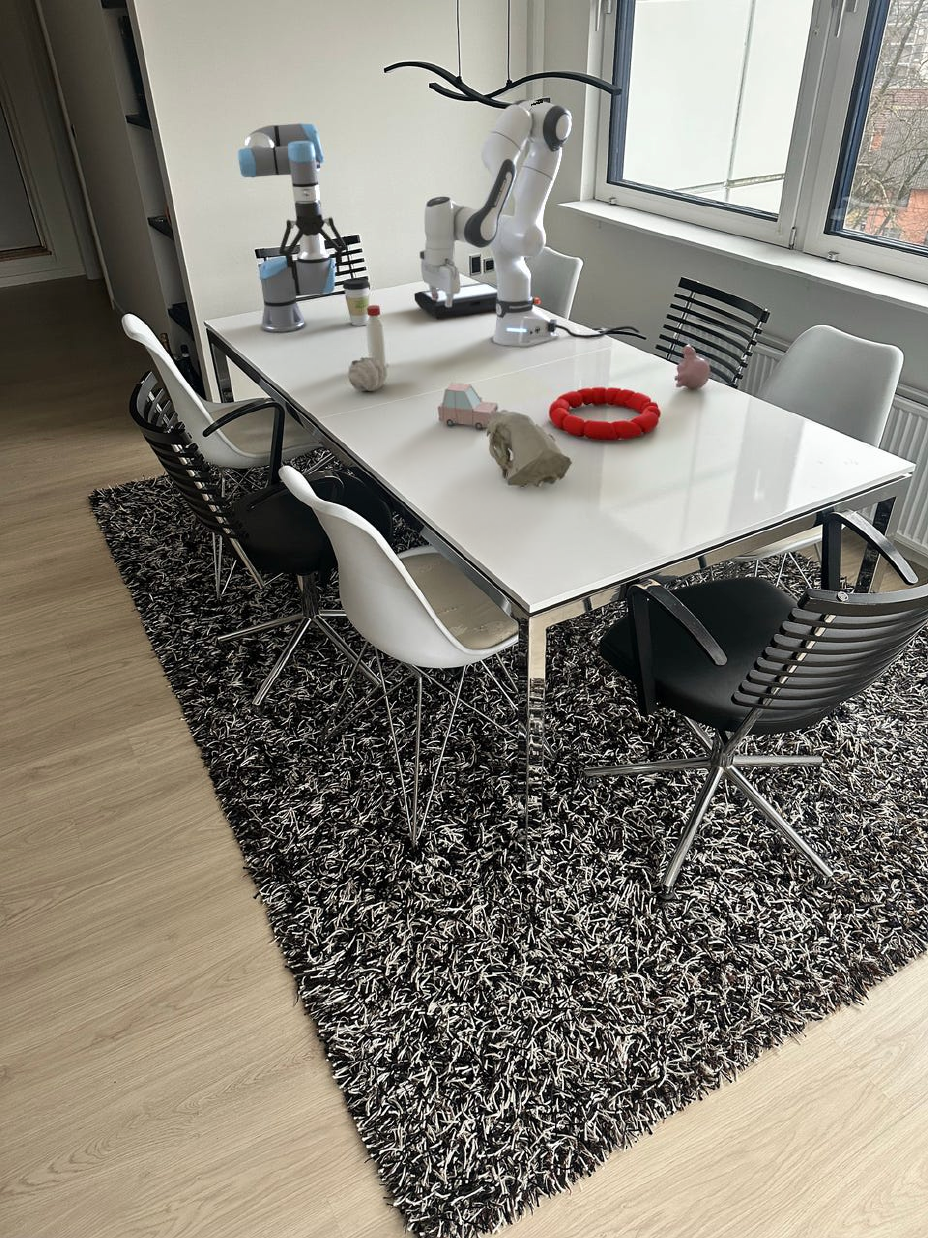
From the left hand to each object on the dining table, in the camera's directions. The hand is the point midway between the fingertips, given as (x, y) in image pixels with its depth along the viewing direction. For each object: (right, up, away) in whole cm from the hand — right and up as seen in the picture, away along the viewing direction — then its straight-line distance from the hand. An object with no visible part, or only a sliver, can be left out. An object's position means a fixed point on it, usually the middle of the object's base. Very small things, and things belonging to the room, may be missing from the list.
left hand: (316, 276), depth 273 cm
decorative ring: (+84, -51, -29) cm, 102 cm away
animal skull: (+59, -68, -53) cm, 105 cm away
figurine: (+112, -37, -10) cm, 118 cm away
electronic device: (+45, +13, +66) cm, 81 cm away
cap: (+17, -8, +4) cm, 19 cm away
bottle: (+18, -23, +15) cm, 33 cm away
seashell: (+17, -36, -4) cm, 40 cm away
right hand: (+38, -6, +5) cm, 39 cm away
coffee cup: (+7, +4, +54) cm, 55 cm away
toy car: (+47, -51, -27) cm, 74 cm away
